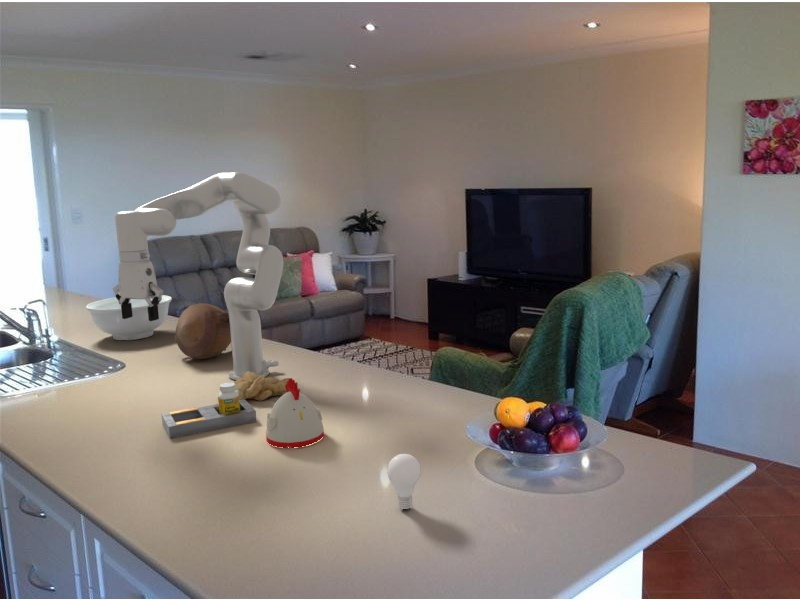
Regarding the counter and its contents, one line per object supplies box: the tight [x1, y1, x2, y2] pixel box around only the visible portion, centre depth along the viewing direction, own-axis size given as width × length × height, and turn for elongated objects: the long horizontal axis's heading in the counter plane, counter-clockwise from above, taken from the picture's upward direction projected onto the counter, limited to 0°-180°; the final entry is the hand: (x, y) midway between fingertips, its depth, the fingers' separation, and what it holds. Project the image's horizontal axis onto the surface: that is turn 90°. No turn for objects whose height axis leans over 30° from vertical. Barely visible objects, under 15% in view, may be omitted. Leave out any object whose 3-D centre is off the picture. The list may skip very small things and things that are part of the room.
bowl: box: [85, 294, 173, 341], centre depth 294 cm, size 32×32×15 cm
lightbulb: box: [386, 453, 422, 510], centre depth 138 cm, size 6×6×11 cm
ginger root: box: [233, 371, 290, 401], centre depth 210 cm, size 16×16×8 cm
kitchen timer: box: [265, 377, 325, 448], centre depth 176 cm, size 14×14×15 cm
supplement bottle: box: [217, 382, 240, 415], centre depth 192 cm, size 5×5×10 cm
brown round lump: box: [174, 302, 231, 360], centre depth 259 cm, size 20×20×30 cm
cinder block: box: [160, 399, 257, 439], centre depth 190 cm, size 22×11×3 cm, turn 117°
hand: (140, 319), depth 200 cm, fingers open, 9 cm apart
